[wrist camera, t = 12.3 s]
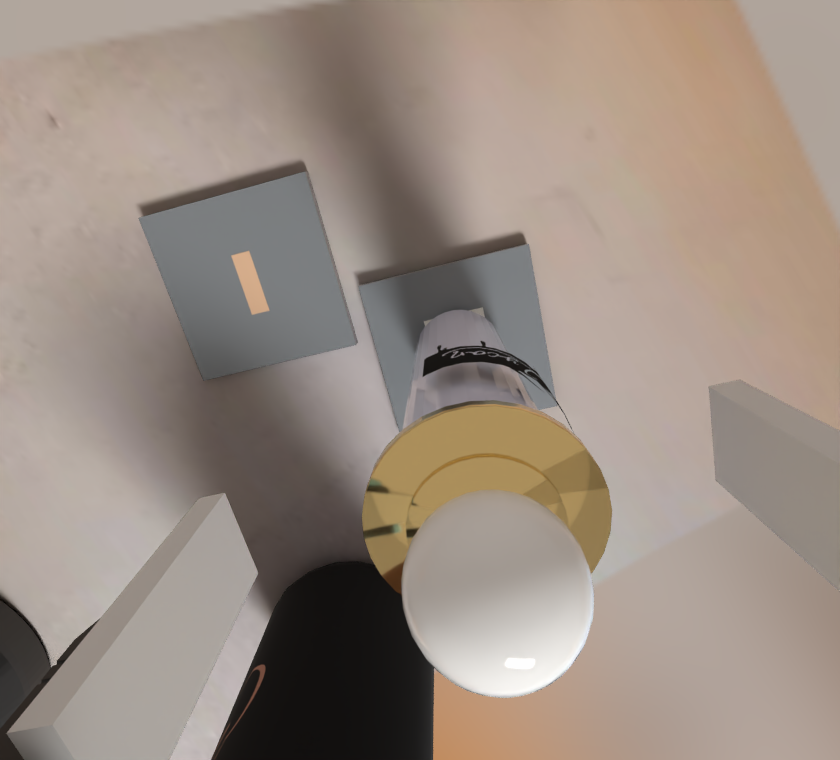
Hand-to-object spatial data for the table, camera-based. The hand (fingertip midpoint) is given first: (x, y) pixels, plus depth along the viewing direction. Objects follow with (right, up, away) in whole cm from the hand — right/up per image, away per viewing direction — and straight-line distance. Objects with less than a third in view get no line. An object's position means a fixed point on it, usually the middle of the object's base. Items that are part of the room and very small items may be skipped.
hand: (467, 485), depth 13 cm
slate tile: (-10, +8, +13) cm, 19 cm away
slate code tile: (+1, +5, +14) cm, 15 cm away
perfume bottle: (+1, +5, +14) cm, 14 cm away
